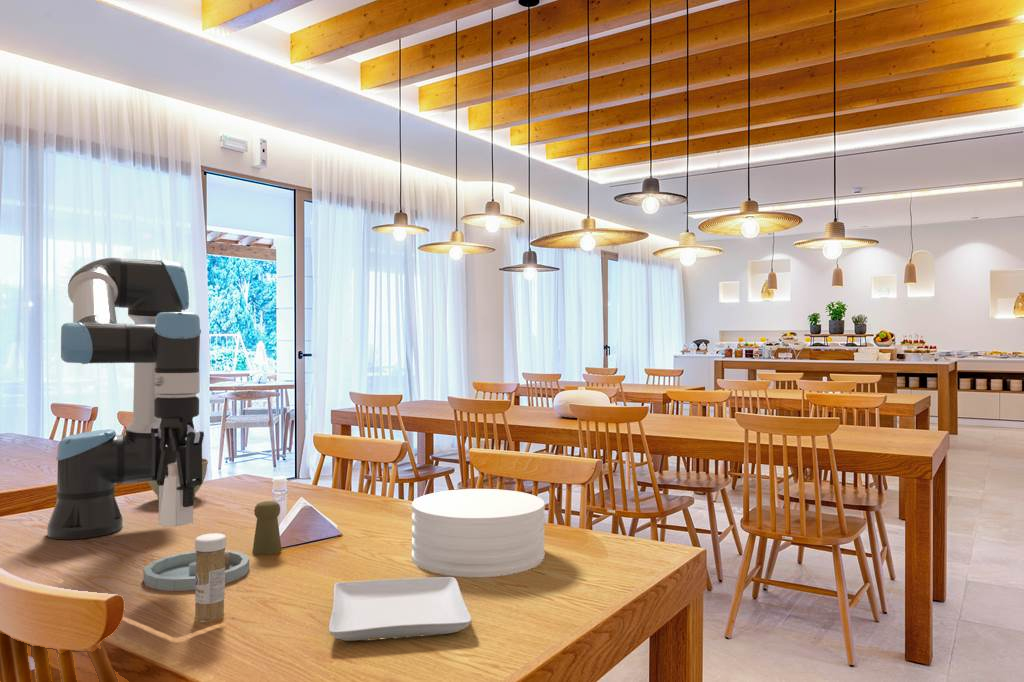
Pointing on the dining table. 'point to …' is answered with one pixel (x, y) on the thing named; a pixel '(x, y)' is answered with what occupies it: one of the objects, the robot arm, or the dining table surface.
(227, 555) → the bead walnut
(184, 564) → the groove tray
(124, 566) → the dining table surface
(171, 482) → the pepper shaker
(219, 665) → the dining table surface
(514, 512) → the plate stack
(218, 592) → the sprinkles bottle
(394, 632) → the salad plate
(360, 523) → the dining table surface
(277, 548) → the pepper shaker
